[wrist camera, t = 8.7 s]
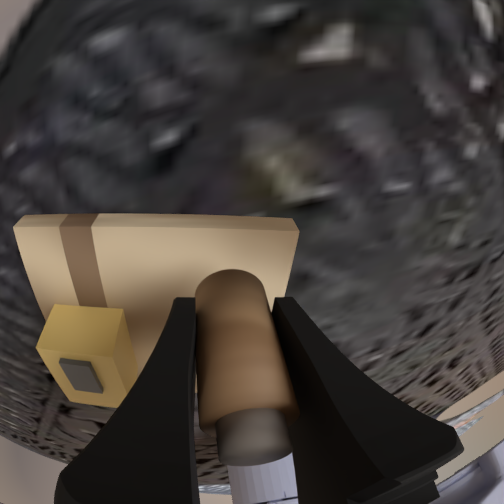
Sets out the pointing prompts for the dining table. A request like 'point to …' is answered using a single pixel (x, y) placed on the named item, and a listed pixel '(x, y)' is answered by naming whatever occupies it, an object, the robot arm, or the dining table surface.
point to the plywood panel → (148, 261)
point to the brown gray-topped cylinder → (241, 371)
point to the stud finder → (89, 353)
